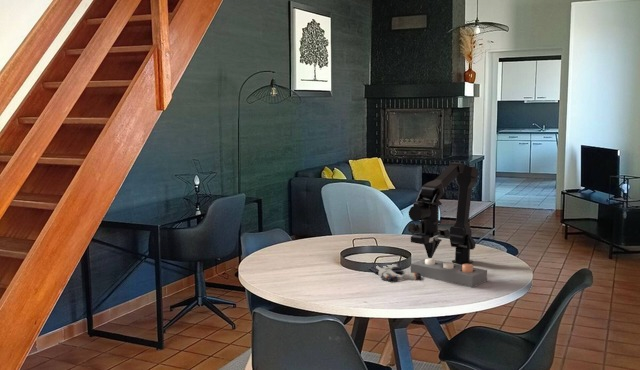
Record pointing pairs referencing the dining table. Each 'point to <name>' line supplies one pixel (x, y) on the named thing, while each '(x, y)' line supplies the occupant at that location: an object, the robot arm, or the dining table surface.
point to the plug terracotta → (467, 268)
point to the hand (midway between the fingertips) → (429, 257)
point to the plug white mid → (448, 265)
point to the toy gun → (394, 273)
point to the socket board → (449, 273)
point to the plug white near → (430, 261)
